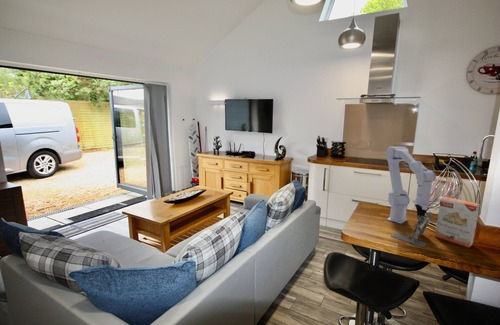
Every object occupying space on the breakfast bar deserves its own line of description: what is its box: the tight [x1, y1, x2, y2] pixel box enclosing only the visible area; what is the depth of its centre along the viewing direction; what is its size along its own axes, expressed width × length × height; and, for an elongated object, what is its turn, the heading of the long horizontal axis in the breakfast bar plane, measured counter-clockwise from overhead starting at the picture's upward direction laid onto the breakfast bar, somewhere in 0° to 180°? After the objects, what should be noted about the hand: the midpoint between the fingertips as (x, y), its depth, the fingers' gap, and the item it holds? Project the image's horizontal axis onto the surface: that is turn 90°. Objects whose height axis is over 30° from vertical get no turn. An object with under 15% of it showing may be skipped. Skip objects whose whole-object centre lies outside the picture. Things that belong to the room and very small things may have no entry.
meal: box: [408, 210, 433, 240], centre depth 126 cm, size 15×4×13 cm, turn 132°
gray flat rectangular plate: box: [390, 232, 428, 248], centre depth 125 cm, size 6×14×1 cm, turn 41°
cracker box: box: [434, 196, 481, 248], centre depth 123 cm, size 14×6×21 cm, turn 36°
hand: (420, 218), depth 131 cm, fingers closed
